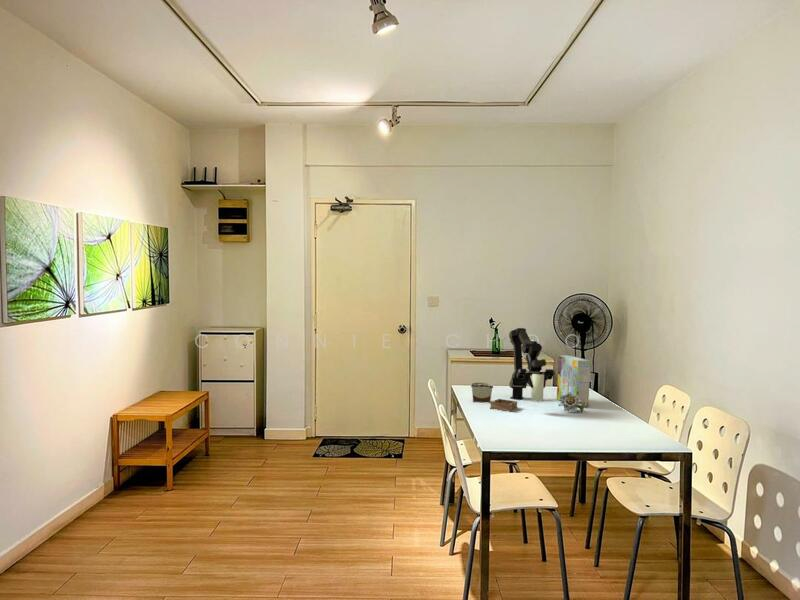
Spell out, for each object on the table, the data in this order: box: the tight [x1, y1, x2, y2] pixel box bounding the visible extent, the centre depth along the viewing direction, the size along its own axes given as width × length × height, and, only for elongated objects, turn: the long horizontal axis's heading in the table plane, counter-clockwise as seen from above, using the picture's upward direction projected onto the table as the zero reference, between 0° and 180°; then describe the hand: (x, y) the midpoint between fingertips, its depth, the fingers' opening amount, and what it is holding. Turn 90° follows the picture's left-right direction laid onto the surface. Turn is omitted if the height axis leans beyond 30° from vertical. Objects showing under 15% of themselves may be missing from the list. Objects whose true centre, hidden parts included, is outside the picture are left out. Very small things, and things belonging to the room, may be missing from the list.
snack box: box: [556, 355, 592, 408], centre depth 323 cm, size 22×9×26 cm, turn 14°
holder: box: [489, 398, 518, 413], centre depth 304 cm, size 11×11×4 cm
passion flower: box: [558, 392, 585, 414], centre depth 303 cm, size 11×11×12 cm
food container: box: [470, 382, 494, 403], centre depth 320 cm, size 12×6×10 cm, turn 84°
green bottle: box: [530, 374, 545, 402], centre depth 295 cm, size 6×6×13 cm
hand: (538, 387), depth 294 cm, fingers closed on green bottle, 6 cm apart
